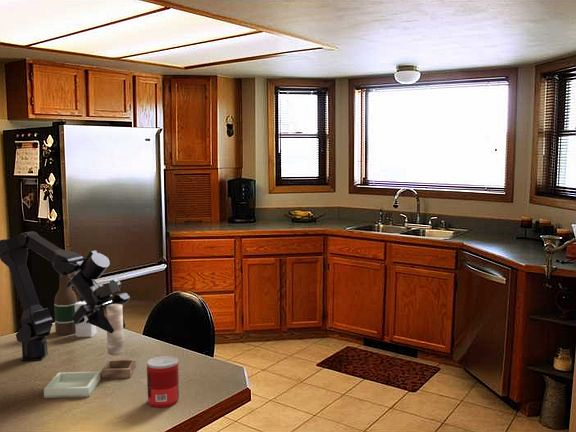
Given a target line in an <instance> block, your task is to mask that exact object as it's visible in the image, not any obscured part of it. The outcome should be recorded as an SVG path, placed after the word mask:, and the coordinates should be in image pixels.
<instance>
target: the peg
mask: <svg viewBox="0 0 576 432" xmlns="http://www.w3.org/2000/svg"><path fill="white" fill-rule="evenodd" d="M105 310H106V315H105V316H106V319H107V320H108V322H109V323H110V325H111V326H112V328H113V330H114V332H113V333H109V332H107V331H106V339H107V340H106V344H107V355H108V356H120V355H122V354H124V353H125V349H124V348H125V347H124V346H125V345H124V329H123V319H124V316H123V315H124V314H123V307H122V305H121V304H111V305H107V306H106V309H105Z"/></svg>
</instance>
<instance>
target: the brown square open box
mask: <svg viewBox="0 0 576 432" xmlns="http://www.w3.org/2000/svg"><path fill="white" fill-rule="evenodd" d="M136 368H137V359H135V358H134V359H133V358H132V359H108V360H107V362H106V363H105V364H104V366H103V368H102V369H101V379H122V378H123V379H124V378H125V379H127V378H128V379H129V378H132V376H133V374H134V372H135V370H136Z"/></svg>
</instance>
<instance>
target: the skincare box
mask: <svg viewBox="0 0 576 432" xmlns="http://www.w3.org/2000/svg"><path fill="white" fill-rule="evenodd" d="M85 304H86V302H85V301H83V302H81V301H80V300H79V301H77V303H76V304H75V312H76V311H77V309H78V308H79V307H80V306H82V305H85ZM84 318H85V320H84V322H83V323H80V324H77V325H76V333H75V337H77V338H78V337H79V338H87V337H88V338H92V337H94V336H96V335H97V333H98V331H97V326H95V325H92V324H90V323H88V324H87V323H86V321H87V320H88V318H87V316H84Z"/></svg>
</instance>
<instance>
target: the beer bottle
mask: <svg viewBox="0 0 576 432" xmlns="http://www.w3.org/2000/svg"><path fill="white" fill-rule="evenodd" d="M70 275H71V274H70ZM70 275H65V276H63V275H61V274H59V287H58V291H57V292H56V294H55V297H54V302H53V304H54V309H53V311H54V329H55V333H56V335H59V336H70V335H73V334H74V335H75V334H76V324H75V322H74V321H73V314H74V313H75V304H76V303H78V298H77V295H76V292H75V291H74V290H73V289H72V287H69V288H68V287H67V283H68V278H71V276H70Z"/></svg>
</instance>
